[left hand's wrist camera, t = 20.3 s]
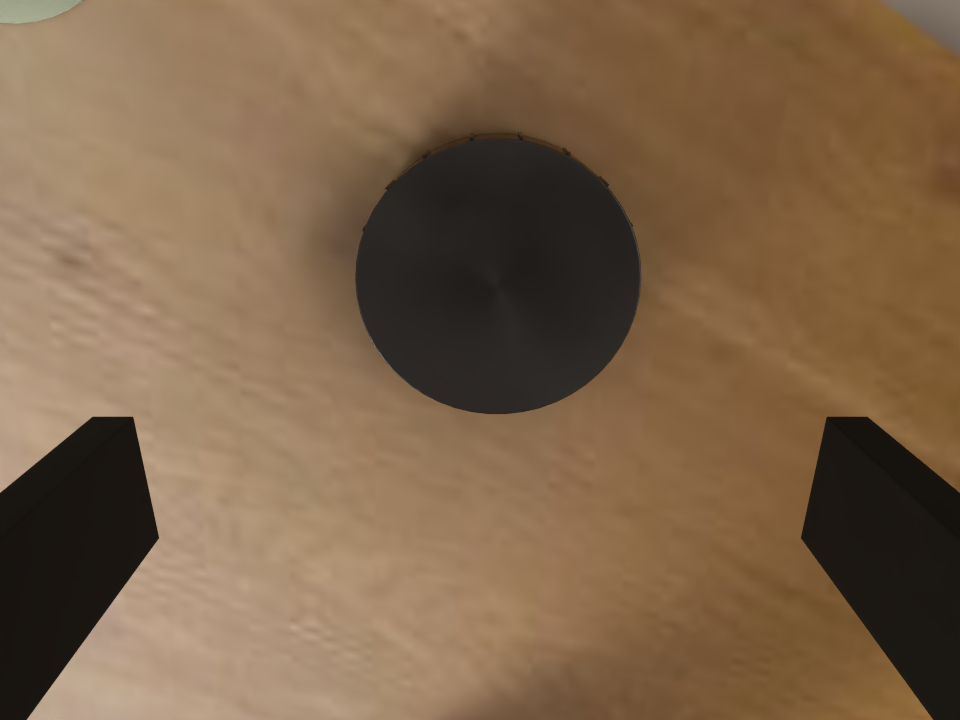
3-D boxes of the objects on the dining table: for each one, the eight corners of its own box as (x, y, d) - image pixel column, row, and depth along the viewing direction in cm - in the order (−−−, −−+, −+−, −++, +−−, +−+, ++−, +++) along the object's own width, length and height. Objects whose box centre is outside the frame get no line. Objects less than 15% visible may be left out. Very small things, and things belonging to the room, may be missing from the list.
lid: (463, 433, 25) (461, 460, 24) (308, 235, 23) (292, 250, 21) (678, 306, 23) (693, 326, 22) (537, 69, 20) (542, 69, 19)
